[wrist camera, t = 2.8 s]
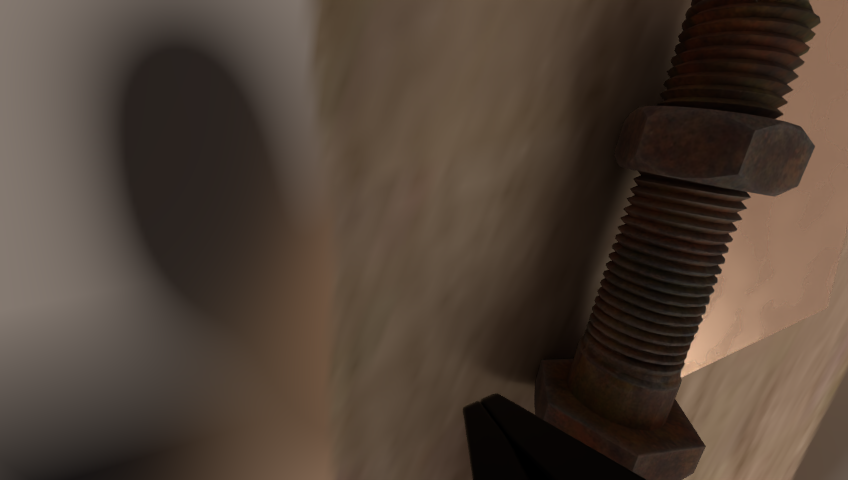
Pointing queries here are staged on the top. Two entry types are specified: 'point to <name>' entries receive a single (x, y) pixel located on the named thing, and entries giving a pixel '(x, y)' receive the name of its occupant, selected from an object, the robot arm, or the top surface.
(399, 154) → the top surface
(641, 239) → the bolt
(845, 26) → the seat and pad
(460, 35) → the top surface
